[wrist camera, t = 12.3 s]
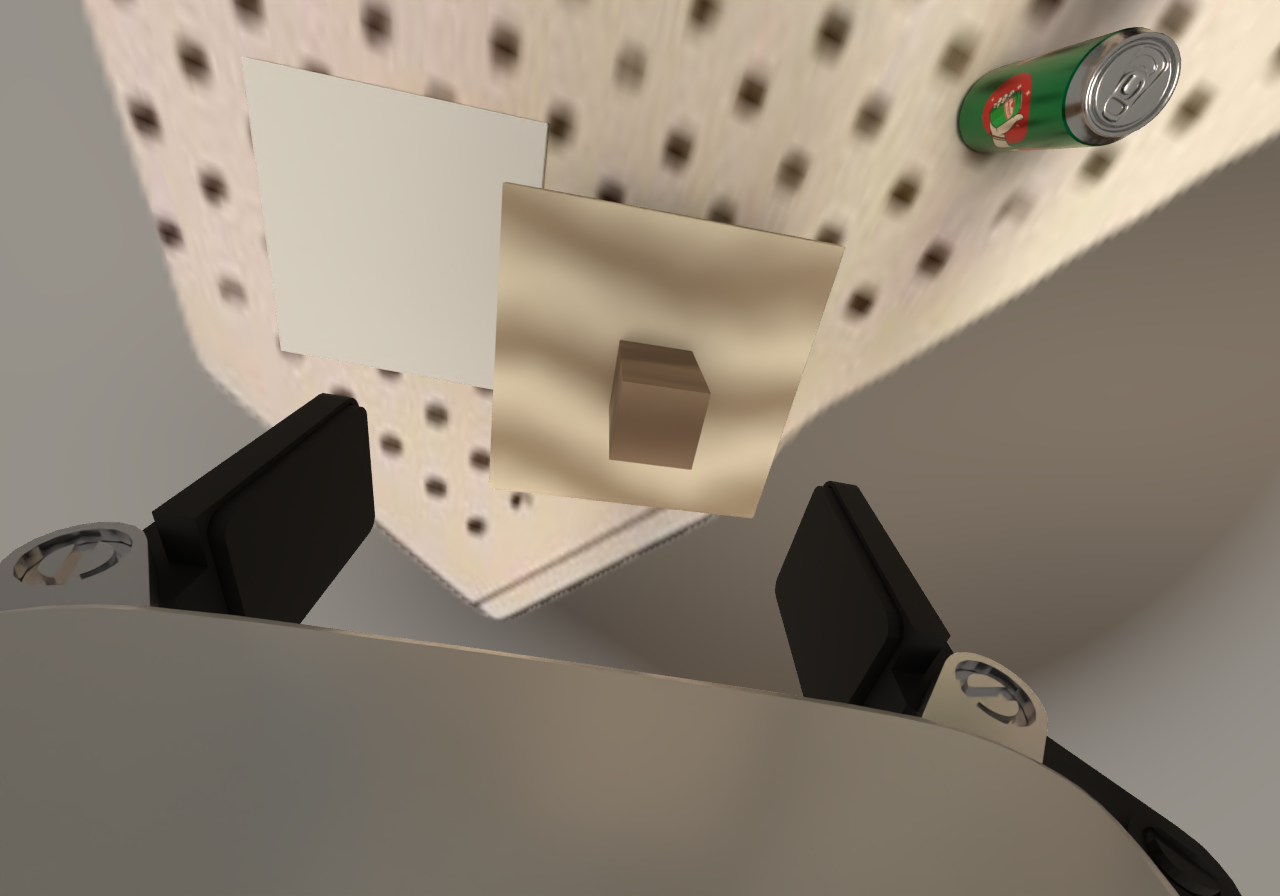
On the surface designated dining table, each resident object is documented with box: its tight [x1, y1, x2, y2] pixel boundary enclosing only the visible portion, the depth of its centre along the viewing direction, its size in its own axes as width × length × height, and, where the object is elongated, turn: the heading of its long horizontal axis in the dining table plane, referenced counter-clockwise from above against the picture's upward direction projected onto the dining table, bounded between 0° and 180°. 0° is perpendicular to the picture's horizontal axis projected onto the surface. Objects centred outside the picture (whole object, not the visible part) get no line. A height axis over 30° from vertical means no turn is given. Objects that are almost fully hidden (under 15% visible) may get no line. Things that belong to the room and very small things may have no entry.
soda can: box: [959, 27, 1181, 153], centre depth 31 cm, size 5×5×12 cm
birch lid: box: [489, 182, 845, 518], centre depth 27 cm, size 17×17×7 cm
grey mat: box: [241, 56, 549, 389], centre depth 41 cm, size 21×21×1 cm
